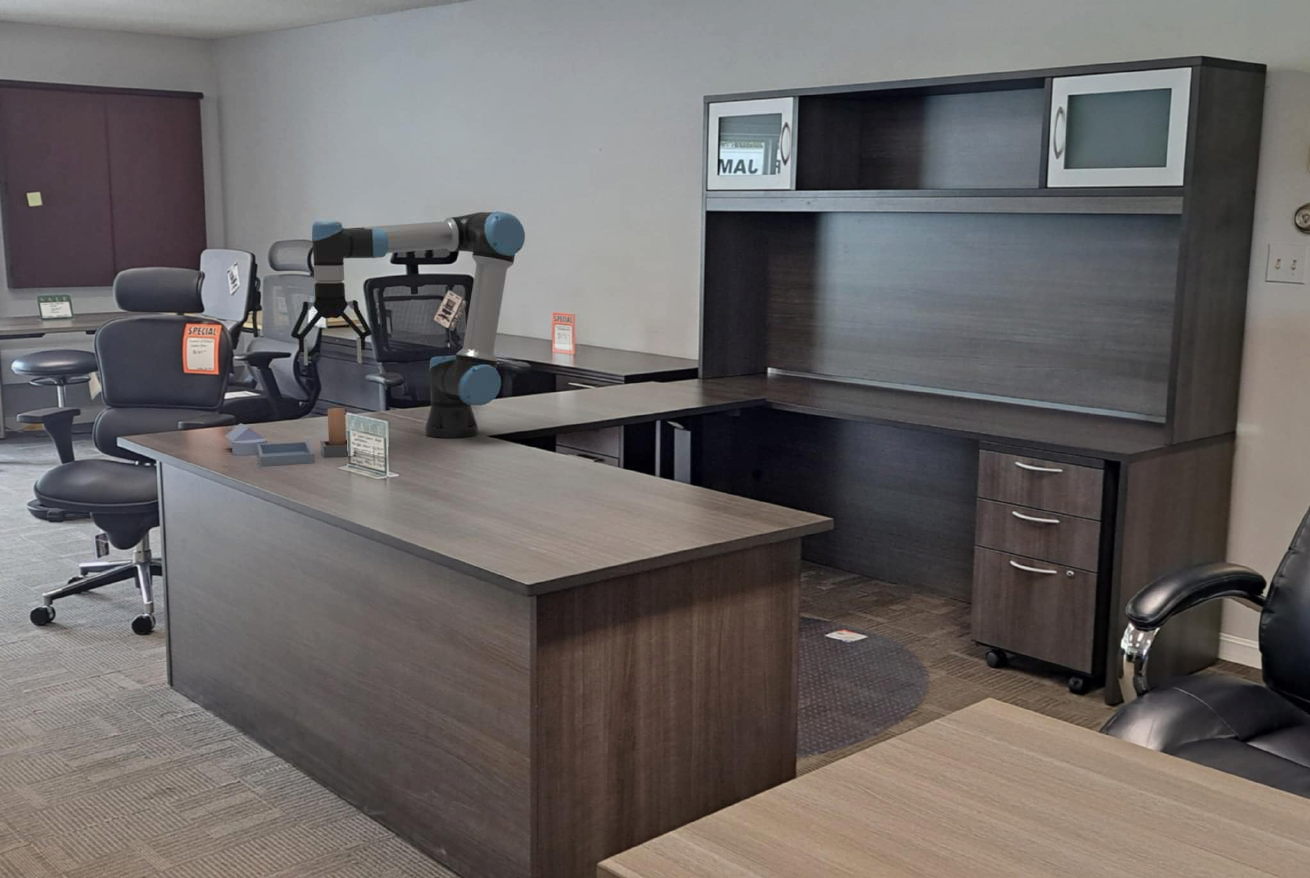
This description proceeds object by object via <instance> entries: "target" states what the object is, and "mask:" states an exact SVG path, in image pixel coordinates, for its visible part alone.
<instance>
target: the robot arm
mask: <svg viewBox="0 0 1310 878" xmlns="http://www.w3.org/2000/svg"><path fill="white" fill-rule="evenodd" d="M311 229H312V232H311V235H312V237H311V243H312V255H313V278H314V279H313V280H314V281H315V283H314V301H306V300H303V302H302V307H301V311H300V313H299V316H298V318H297V320H296V322H295V325H294V327H293V329H292V331H291V333H290V336H291V337H292V338H293V339H297V340H298V350H299V353H303V365H304V366H308V365H309V360H308V359H309V358H308V357H309V356H308V354H309V353H308V341H307V339H306V337H307V335H308V334H309V333H310V331H312V330H313V328H314V326H315V325H316V324H317V323H318V322H319V320H320V319H322V318H323V319H331V318H332V319H339V318H340V317H341V319H343V320H344V321H345V322H346V323H347V324H348V326H349V327H351V329H352V330H353V331H354V332H355V333H356V334H357V335H358V337H356V356H357V357H356V358H357V363H358V364H362V362H363V360H362V351H365V350H366V338H367V337H369V336H371V335H373V332H372V329H371V328H370V327H369V325H368V323H367V321H366V319H365V318H364V316H363V314H362V312H361V310H360V308H359V302H358V301H357V299H356V300H355V299H353V300H349V301H346V289H345V287H346V285H345V283H344V282H343V281H345V262H344V261H345V260H344V259H377V258H384V257H386V255H387V254H394V253H406V252H419V251H429V250H430V251H432V250H442V249H443V250H444V249H447V250H448V251H449V252H469V253H472V259H473V260H474V263H475V264H476V265H475V271H474V278H473V284H472V290H471V297H470V302H469V309H468V315H467V322H466V327H465V334H464V339H463V347H462V348H461V349H460V350H459V351H458V352H456V353H455V355H443V356H442V355H441V356H433V357H431V359H430V361H429V368H428V371H429V386H430V387H429V388H430V391H429V392H430V393H429V394H430V410H429V413H428V417H427V421H426V423H425V424H426V425H425V430H424V431H425V435H426V436H428V437H431V438H442V439H443V438H444V439H451V438H452V439H453V438H464V437H465V438H468V437H472V436H475V435H478V433H479V428H478V423H477V421H476V416H475V414H474V411H473V409H472V406H484V405H487V404H489V403H490V402H492V401H493V400H495V399H496V397H497V396H498V395H499V392H500V390H501V386H502V379H501V376H500V375H499V374H500V373H499V372H498V370H497V366H498V359H497V357H496V355H495V354H494V351H495V344H496V340H497V339H496V338H497V331H498V326H499V320H500V313H501V310H502V309H501V307H502V302H503V296H504V295H503V294H504V291H505V290H504V289H505V284H506V276H507V272H508V269H509V268H511V267H512V266H513V265H514V262H515V256H516V254H517V253H518V252H520V250H521V249H523V246H524V244H525V239H526V232H525V229H524V227H523V224H522V223H521V221H520V220H519V219H518V218H517V216H515V215H514V214H511V213H509V212H503V211H492V212H491V211H490V212H488V211H487V212H486V211H483V212H482V211H481V212H475V213H470V214H466V215H460V216H452V217H446V218H445V220H443V221H432V222H418V223H405V224H404V223H403V224H391V225H376V226H363V227H348V228H345V227H343V223H342V222H341V221H315V222H314V223H312V227H311ZM312 307H313V308H314V309H315V310H316V313H315V314H314V316H313V317H312V319H310V321H309V322H308V323H307V325H306V326H305V327H304V328H303V330H302V331H301V332H300V333H299V331H300V330H301V327H302V325H303V323H304V321H305V319H306V316H307V314H308V312H309V311H310V310H311V309H312ZM348 307H349V308H350V309H351V310H353V311H354V314H355V316H356V318H357V320H358V321H359V323H360V324H361V327H362V329H363V330H364V331H362V330H361V329H360V328H359V327H358V326H357V325H356V323H354V321H352V319H351V318H350V317H349V316H348V315H347V314H346V312H344V311H345V310H346V308H348Z"/></svg>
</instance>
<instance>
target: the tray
mask: <svg viewBox="0 0 1310 878" xmlns="http://www.w3.org/2000/svg"><path fill="white" fill-rule="evenodd" d="M256 456H257V459H258V462H259V463H258V464H259V467H260V468H262V467H273V466H274V467H275V466H288V465H289V466H292V465H305V464H315V453H314V451H313V449H312V447H311V445H310V443H309V441H296V442H295V441H294V442H278V443H267V444H257V455H256Z"/></svg>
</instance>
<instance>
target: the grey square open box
mask: <svg viewBox="0 0 1310 878" xmlns="http://www.w3.org/2000/svg"><path fill="white" fill-rule="evenodd" d="M347 440H348V439H346V445H332V446H329V440H321V441H320V453H321V456H322V457H323V458H324V459H330V458H347V456H348V451H347Z"/></svg>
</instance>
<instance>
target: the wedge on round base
mask: <svg viewBox="0 0 1310 878" xmlns="http://www.w3.org/2000/svg"><path fill="white" fill-rule="evenodd" d="M224 438H226V439H228V440H229V441H231V448H232V450H231V451H232V454H233V455H236V456H257V444H268V438H266V437H264V436H263V435H261V434H260V433H259V432H258V431H255V430H254V429H252V428H250V427H248V426H246V425H245V424H243V423H238V424H237V425H236V426H235V427H234V428H233V429H232V430H231V431H229V432H228V433H227V434H226V435H225V436H224Z"/></svg>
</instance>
